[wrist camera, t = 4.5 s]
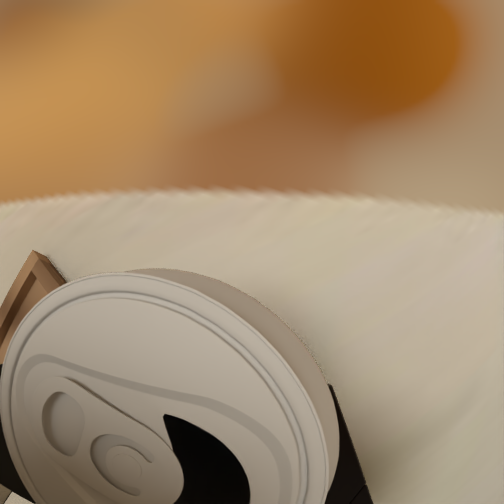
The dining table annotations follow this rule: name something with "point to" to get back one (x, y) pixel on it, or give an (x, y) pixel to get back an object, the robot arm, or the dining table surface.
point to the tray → (26, 295)
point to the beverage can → (164, 397)
